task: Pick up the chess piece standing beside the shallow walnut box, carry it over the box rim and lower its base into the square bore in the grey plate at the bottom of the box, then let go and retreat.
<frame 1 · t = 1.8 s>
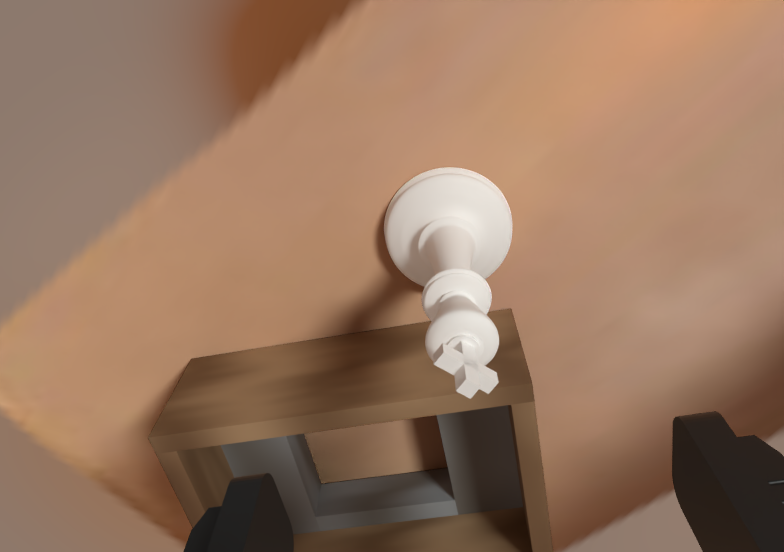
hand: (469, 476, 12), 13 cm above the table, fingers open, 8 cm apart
walnut box: (371, 424, 28), on the table
chess piece: (447, 226, 24), on the table
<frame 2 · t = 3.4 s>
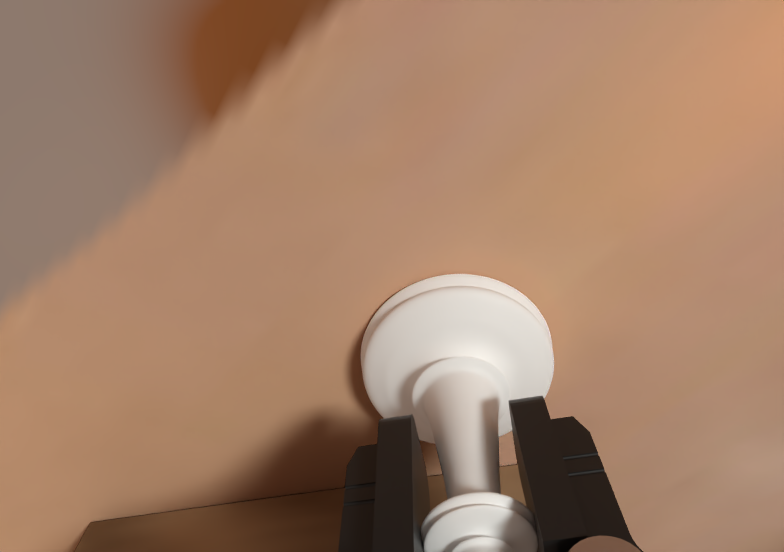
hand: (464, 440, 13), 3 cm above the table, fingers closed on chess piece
chess piece: (455, 352, 16), on the table, touching gripper
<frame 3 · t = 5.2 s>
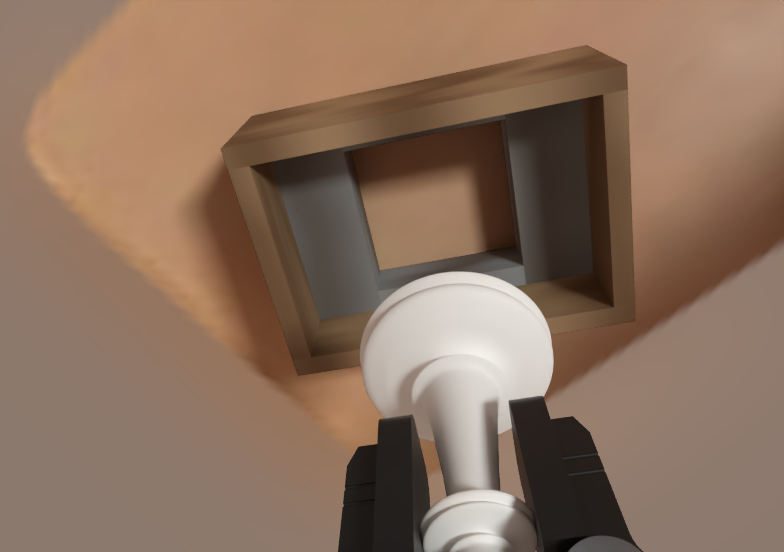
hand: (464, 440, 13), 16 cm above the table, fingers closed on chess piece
walnut box: (435, 194, 28), on the table
chess piece: (454, 350, 16), point 13 cm above the table, touching gripper
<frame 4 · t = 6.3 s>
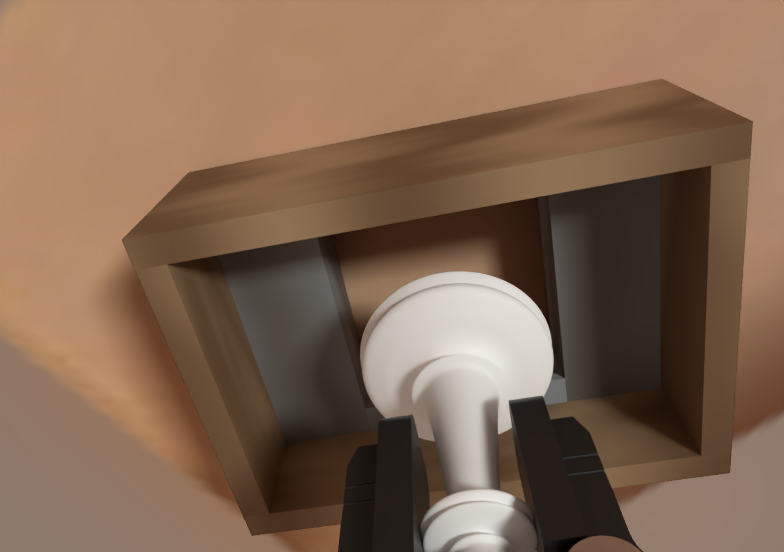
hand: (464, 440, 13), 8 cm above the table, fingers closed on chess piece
walnut box: (443, 277, 20), on the table
chess piece: (454, 350, 16), point 4 cm above the table, touching gripper
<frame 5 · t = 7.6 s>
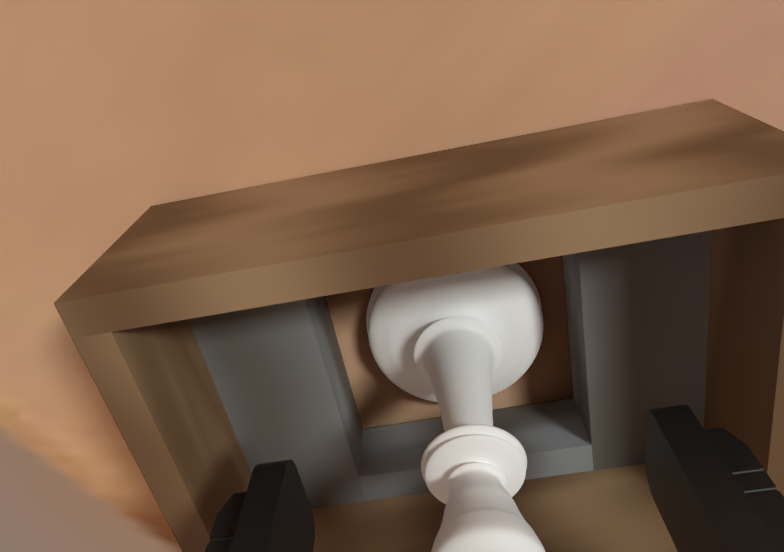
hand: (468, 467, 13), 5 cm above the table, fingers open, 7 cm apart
walnut box: (449, 325, 17), on the table
chess piece: (453, 317, 18), resting in walnut box
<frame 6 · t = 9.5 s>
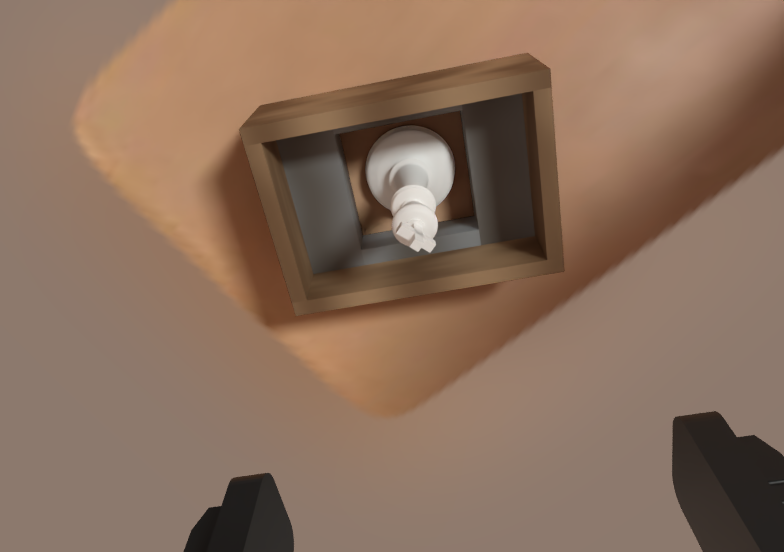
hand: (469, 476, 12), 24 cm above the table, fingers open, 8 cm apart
walnut box: (408, 172, 34), on the table
chess piece: (410, 168, 34), resting in walnut box
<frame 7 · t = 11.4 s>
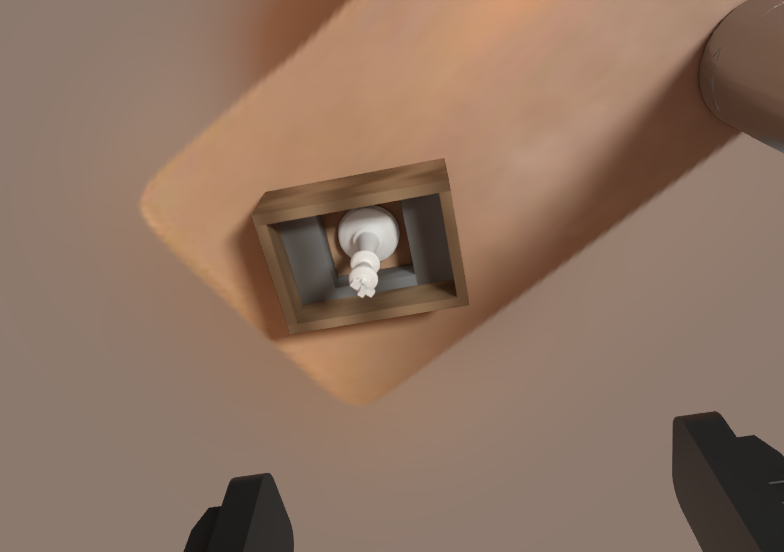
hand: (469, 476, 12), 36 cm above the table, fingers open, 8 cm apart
walnut box: (367, 234, 49), on the table
chess piece: (369, 232, 49), resting in walnut box
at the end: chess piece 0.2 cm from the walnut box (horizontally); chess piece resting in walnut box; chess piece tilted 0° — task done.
